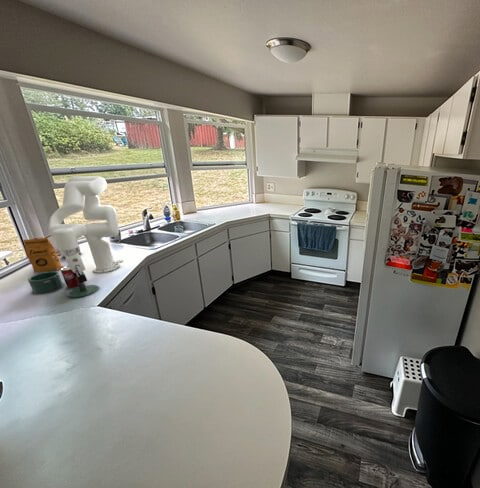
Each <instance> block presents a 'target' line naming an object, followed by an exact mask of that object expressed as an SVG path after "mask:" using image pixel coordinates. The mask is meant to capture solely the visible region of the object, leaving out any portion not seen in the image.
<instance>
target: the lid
mask: <svg viewBox="0 0 480 488" xmlns="http://www.w3.org/2000/svg"><path fill="white" fill-rule="evenodd" d="M85 283H86V282H83V283H78V284H77V285H78V288H74V289H71V290H70V291H69V292H68V293H67V296H68V298H80V297H85V296H89V295H91V294H93V293H95V292H97V291H98V290H99V285H97V284H89V285H86V284H85Z"/></svg>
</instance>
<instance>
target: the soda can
mask: <svg viewBox="0 0 480 488" xmlns="http://www.w3.org/2000/svg"><path fill="white" fill-rule="evenodd" d="M60 273H61V275H62V278H63V280H64V283H65V286H66V288H67V289H70V290H74V289H76V288H79V287H78V285H77V284H78V283H79V281H78V278H77V277H74V275H73V273H72V270H71V269H70V267H69V265H67V266H62V267H61V268H60Z"/></svg>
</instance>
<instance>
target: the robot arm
mask: <svg viewBox="0 0 480 488" xmlns="http://www.w3.org/2000/svg"><path fill="white" fill-rule="evenodd" d="M107 186H108V183H107V181H106V179H105V178H104V177H102V176H97V175H96V176H95V175H93V176H91V175H90V176H89V175H87V176H72V177H69V178H68V182H66V183H65V184H64V188H63V199H62V205H61V206H60V207H59V208H57V209H56V210H55V211H54V212H53V213H52V214H51V215H50V217H49V220H48V233H49V236H50V237H51V238H53V239H54V241H55V244H56V247H57V250H58V252H59V254H60V256H61V257H63V256H64V257H65V258H64V257H63V258H64V259H65V262H66V263H67V266H69V267H70V269H71V270H72V273H73V275H74V277H77V278H78V281H79V283H83V282H84V283H86V282H88V279H87V276H86V274H85V272H84V271H86V269H87V268H86V266H85V265H84V262H83V259H82V256H81V255H79V253H80V252H81V248H80V249H79V247H80V245H79V242H78V243H77V241H78V239H80V238H82V237H84V238H85V240H86V243H87V244H88V247H89V250H90V253H91V256H92V259H93V263H94V265H95V268H94V269H93V272H94V273H97V274H101V273H108V272H112V271H114V270H117V269H118V268H119V264H122V263H124V260H123V259H116V260H115V259H114V257H113V253H112V251H111V247H110V243H109V241H108V240H107V239H105V238H114V237H117V236H118V235H119V233H120V230H119V229H120V228H119V222H118V215H117V211H116V208H115V207H114V206H113V205H109V204H105V205H103V204H102V205H101V201H100V197H99V195H101V194H102V193H104V192H105V190H106V189H107ZM79 212H82V214H83V218H84V219H85V220H86V221H89V222H90V223H86V224H83V223H64V224H61V223H63V221H64V220H66V218H69V217H70V216H73V215H75V214H77V213H79ZM97 221H98V222H97ZM99 221H105V222H99ZM76 239H77V241H76ZM78 245H79V246H78Z"/></svg>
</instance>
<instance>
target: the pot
mask: <svg viewBox="0 0 480 488" xmlns="http://www.w3.org/2000/svg"><path fill="white" fill-rule="evenodd" d="M59 273H60V272H58V271H47V272H38V273H37V274H35V275H32V276H30V277H28V279H27V281H28V283H29V286H30V288H31V290H32V292H33V294H35V295H43V294H49V293H52V292H55V291H58V290H59V289H61V288H62V287H63V286H64V283H63V281H62V278H61V275H60V274H59Z"/></svg>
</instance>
